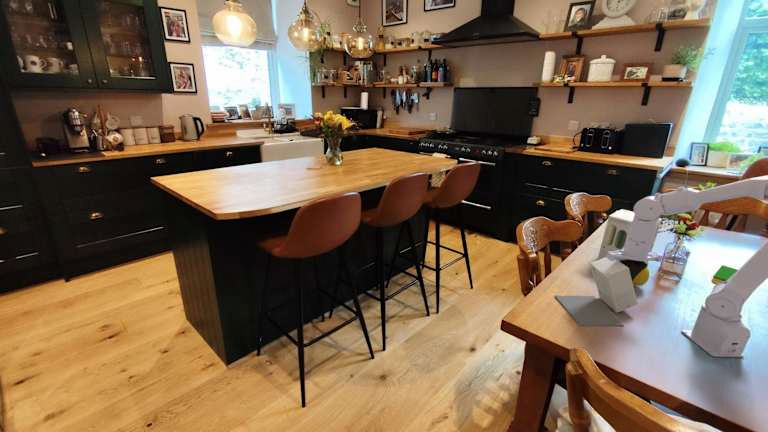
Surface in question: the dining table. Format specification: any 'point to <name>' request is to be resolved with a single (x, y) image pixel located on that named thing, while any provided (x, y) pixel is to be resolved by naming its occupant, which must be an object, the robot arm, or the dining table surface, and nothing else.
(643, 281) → the lemon
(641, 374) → the dining table surface
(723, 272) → the dish sponge
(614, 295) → the small box
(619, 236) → the supplement box
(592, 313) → the slate rubber mat
